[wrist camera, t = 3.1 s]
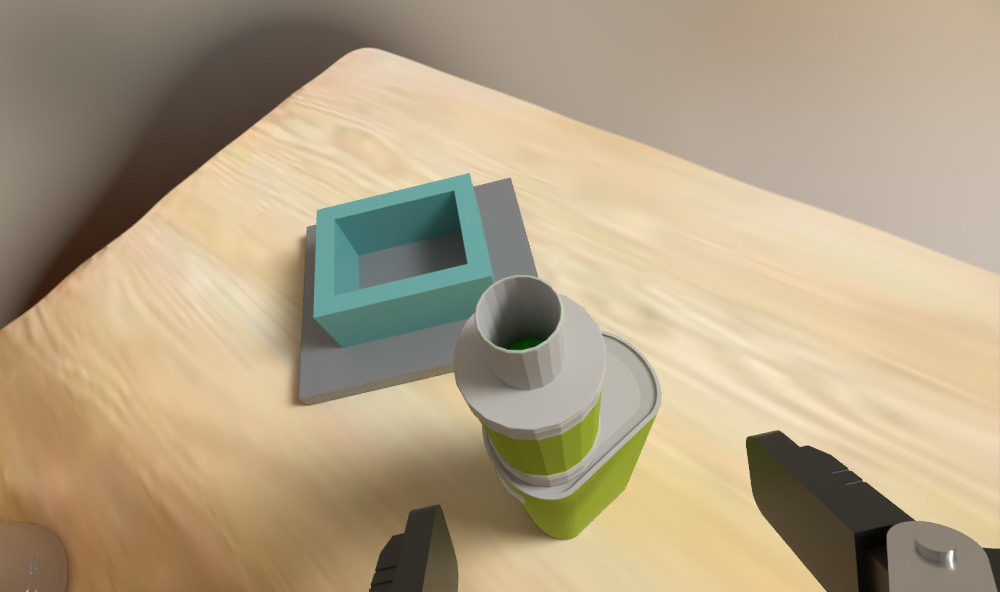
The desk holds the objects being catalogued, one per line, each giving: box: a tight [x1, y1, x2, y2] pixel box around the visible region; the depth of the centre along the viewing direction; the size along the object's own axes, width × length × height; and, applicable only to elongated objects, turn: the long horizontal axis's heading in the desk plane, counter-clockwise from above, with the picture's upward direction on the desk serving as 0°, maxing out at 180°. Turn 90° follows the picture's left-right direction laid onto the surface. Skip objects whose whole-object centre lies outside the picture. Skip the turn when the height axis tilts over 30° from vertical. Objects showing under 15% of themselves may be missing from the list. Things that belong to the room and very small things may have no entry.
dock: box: [299, 173, 538, 405], centre depth 32 cm, size 16×14×5 cm
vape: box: [453, 275, 661, 540], centre depth 17 cm, size 4×6×20 cm, turn 129°
